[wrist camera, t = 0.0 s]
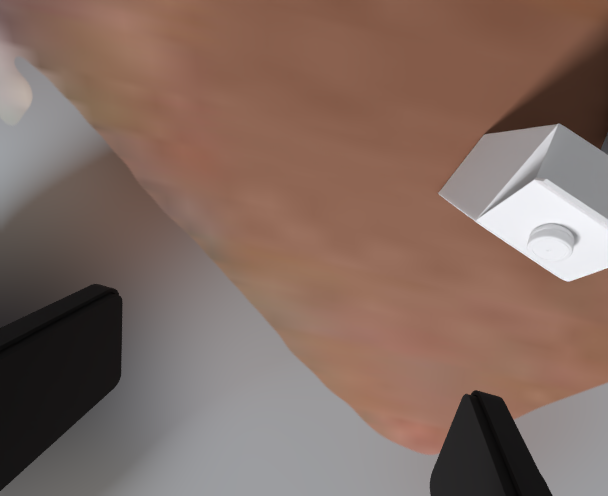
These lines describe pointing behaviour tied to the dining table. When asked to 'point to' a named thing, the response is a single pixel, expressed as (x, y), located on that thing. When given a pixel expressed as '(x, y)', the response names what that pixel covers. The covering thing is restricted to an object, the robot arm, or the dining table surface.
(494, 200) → the milk carton
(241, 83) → the dining table surface
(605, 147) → the post stand
